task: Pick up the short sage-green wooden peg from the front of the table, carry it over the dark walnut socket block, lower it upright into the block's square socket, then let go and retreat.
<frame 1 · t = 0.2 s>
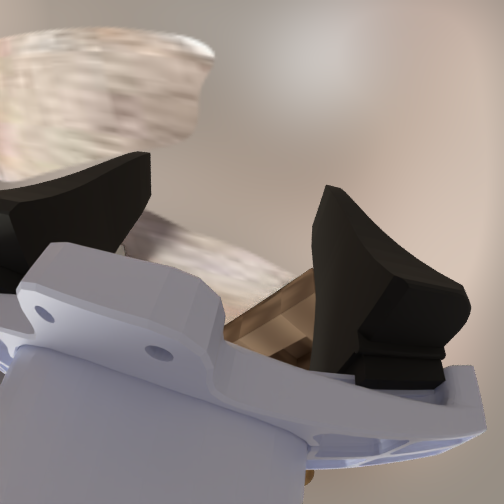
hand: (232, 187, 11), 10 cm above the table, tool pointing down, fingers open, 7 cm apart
snail figurine: (299, 433, 43), on the table
walnut socket block: (300, 334, 30), on the table
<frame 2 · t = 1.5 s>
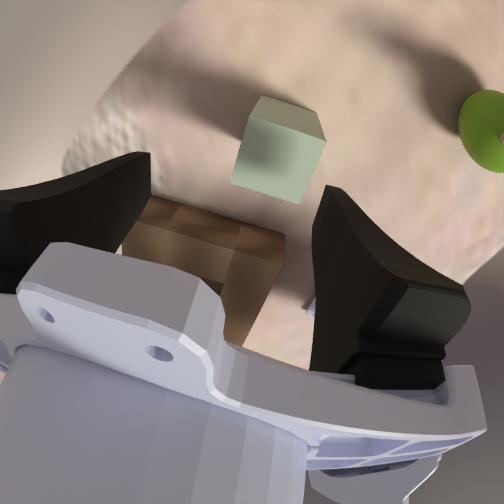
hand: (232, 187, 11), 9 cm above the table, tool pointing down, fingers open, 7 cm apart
snail figurine: (478, 120, 14), on the table
sage peg: (280, 128, 18), on the table
walnut socket block: (199, 265, 27), on the table
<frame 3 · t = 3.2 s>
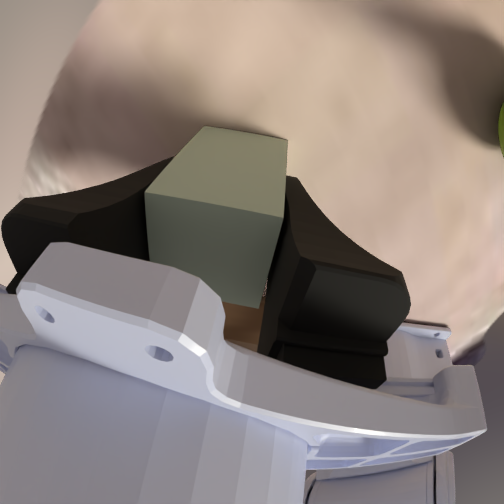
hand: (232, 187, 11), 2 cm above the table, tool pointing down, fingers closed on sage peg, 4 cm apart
sage peg: (239, 169, 13), on the table, touching gripper
walnut socket block: (179, 330, 22), on the table
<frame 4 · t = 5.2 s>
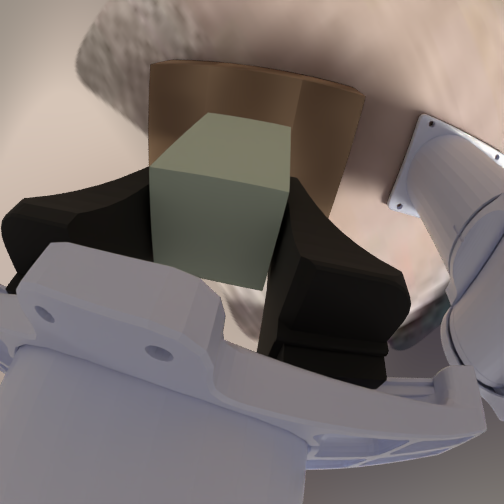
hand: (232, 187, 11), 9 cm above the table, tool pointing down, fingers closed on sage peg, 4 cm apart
sage peg: (242, 156, 13), point 7 cm above the table, touching gripper
walnut socket block: (248, 148, 20), on the table
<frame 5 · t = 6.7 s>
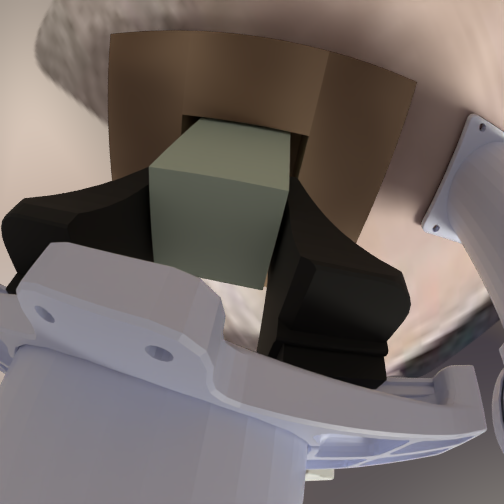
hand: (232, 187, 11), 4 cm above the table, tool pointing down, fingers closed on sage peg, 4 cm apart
skincare box: (306, 362, 28), on the table
sage peg: (242, 155, 13), point 2 cm above the table, touching gripper
walnut socket block: (247, 150, 15), on the table
when the fingers open (4 cm above the table, at t = 7.7 s): sage peg drops 2 cm, resting on walnut socket block.
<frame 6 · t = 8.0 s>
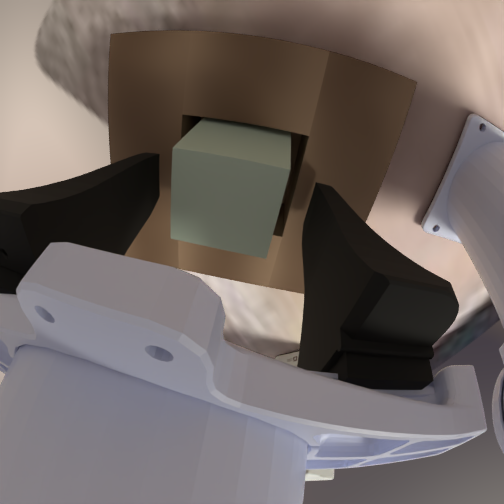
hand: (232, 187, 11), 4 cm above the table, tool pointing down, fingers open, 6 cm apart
skincare box: (306, 362, 28), on the table
sage peg: (247, 145, 14), point 1 cm above the table, touching walnut socket block
walnut socket block: (247, 150, 15), on the table
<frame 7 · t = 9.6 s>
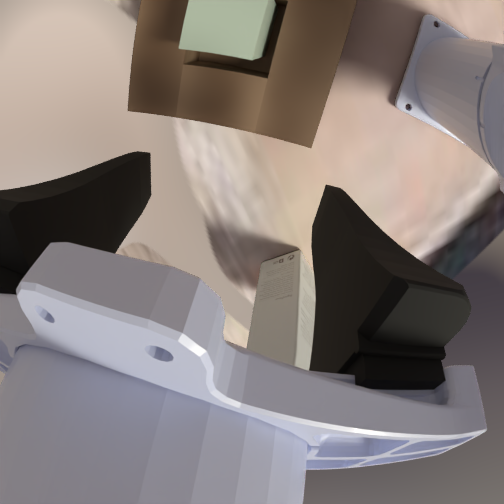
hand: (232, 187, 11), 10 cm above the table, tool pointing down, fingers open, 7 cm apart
skincare box: (293, 275, 29), on the table
sage peg: (244, 26, 15), resting on walnut socket block
walnut socket block: (243, 32, 15), on the table
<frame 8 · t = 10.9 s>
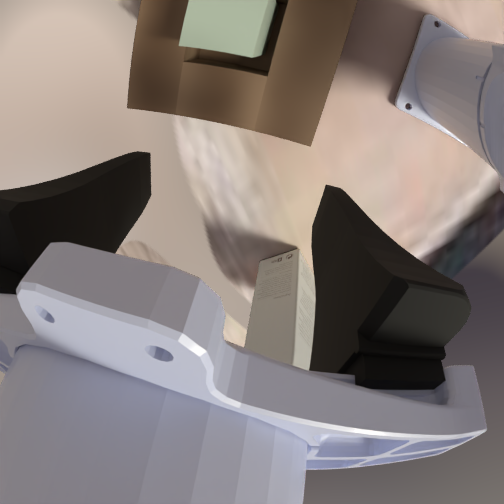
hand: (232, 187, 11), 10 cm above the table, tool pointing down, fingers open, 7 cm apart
skincare box: (292, 274, 29), on the table
sage peg: (244, 24, 14), resting on walnut socket block
walnut socket block: (243, 31, 15), on the table
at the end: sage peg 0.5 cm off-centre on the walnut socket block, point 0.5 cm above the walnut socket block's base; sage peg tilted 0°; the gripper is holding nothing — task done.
